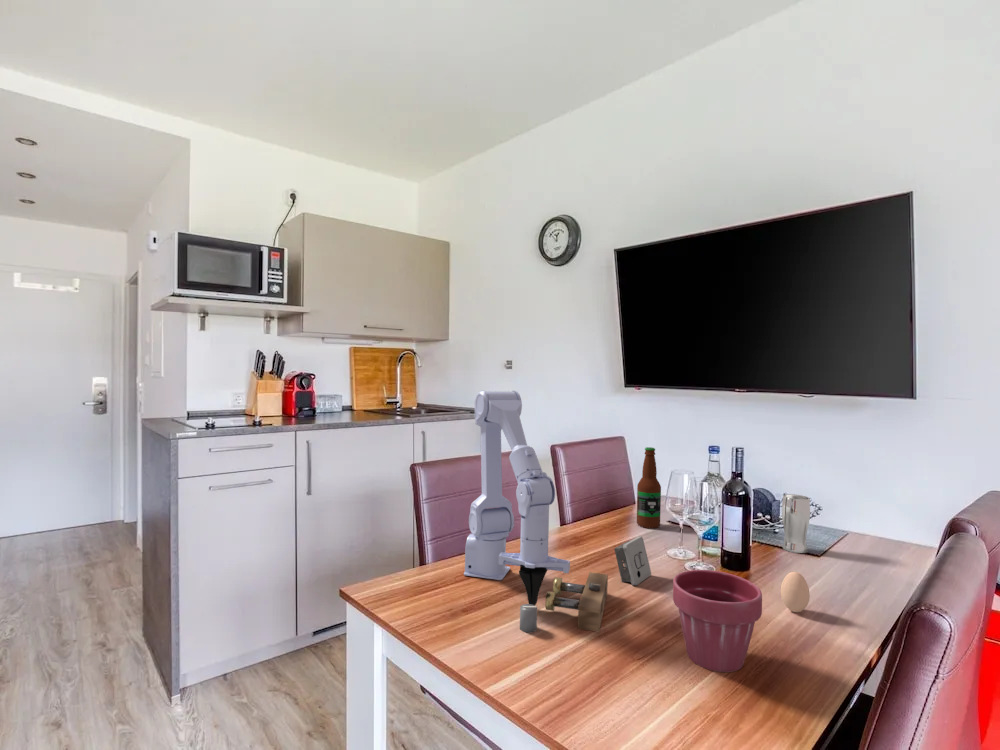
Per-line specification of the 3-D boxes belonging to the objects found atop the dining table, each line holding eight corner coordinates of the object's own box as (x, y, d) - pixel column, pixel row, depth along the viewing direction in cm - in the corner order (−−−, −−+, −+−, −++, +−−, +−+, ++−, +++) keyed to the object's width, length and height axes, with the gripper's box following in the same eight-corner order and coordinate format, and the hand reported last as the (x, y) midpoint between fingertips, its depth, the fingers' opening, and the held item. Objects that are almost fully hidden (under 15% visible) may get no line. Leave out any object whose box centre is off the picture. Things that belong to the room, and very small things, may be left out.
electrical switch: (635, 587, 122) (632, 546, 122) (614, 583, 125) (612, 543, 125) (651, 575, 129) (649, 537, 130) (632, 572, 132) (629, 534, 133)
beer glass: (809, 548, 151) (811, 496, 151) (808, 555, 146) (809, 501, 145) (782, 544, 155) (783, 492, 155) (779, 550, 149) (781, 497, 149)
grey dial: (520, 632, 100) (521, 610, 99) (518, 624, 103) (519, 602, 103) (537, 632, 100) (538, 610, 100) (535, 624, 103) (535, 602, 103)
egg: (815, 616, 109) (816, 576, 109) (792, 618, 108) (793, 577, 108) (796, 605, 114) (797, 566, 114) (774, 606, 113) (775, 567, 113)
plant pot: (714, 690, 83) (716, 608, 83) (654, 646, 96) (656, 575, 95) (779, 671, 88) (781, 594, 88) (714, 632, 101) (716, 565, 101)
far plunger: (552, 596, 114) (553, 580, 114) (555, 590, 118) (555, 574, 118) (590, 601, 112) (590, 585, 112) (592, 595, 115) (592, 579, 115)
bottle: (637, 528, 168) (639, 449, 168) (635, 521, 175) (637, 445, 175) (661, 529, 167) (663, 450, 167) (658, 523, 174) (660, 446, 174)
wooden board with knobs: (577, 628, 102) (578, 600, 102) (589, 591, 119) (589, 567, 119) (599, 631, 100) (599, 603, 100) (607, 593, 118) (607, 569, 118)
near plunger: (545, 612, 107) (545, 595, 107) (548, 605, 110) (548, 588, 110) (585, 618, 104) (585, 601, 104) (587, 611, 108) (587, 594, 108)
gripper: (494, 538, 107) (493, 605, 107) (566, 546, 103) (565, 616, 103) (504, 528, 114) (503, 592, 114) (572, 536, 110) (570, 601, 110)
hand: (533, 602), depth 109 cm, fingers closed
